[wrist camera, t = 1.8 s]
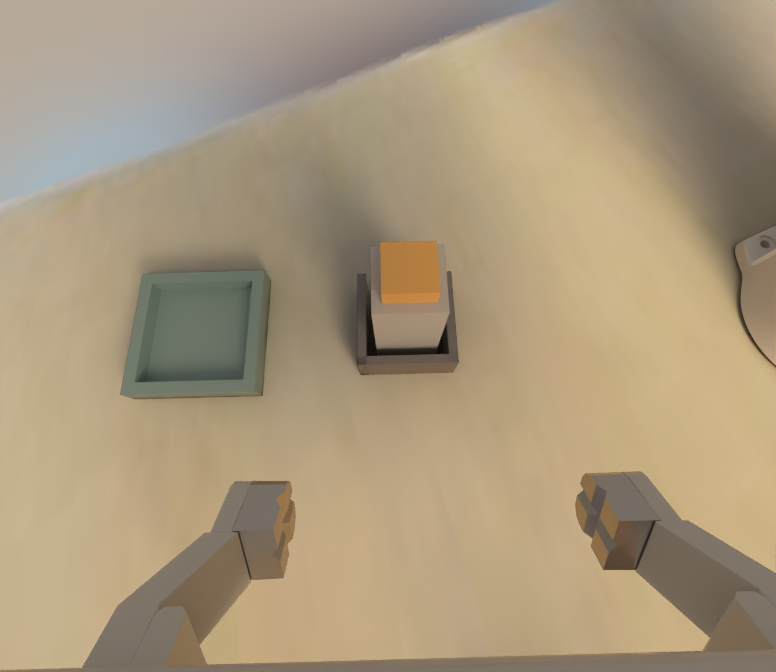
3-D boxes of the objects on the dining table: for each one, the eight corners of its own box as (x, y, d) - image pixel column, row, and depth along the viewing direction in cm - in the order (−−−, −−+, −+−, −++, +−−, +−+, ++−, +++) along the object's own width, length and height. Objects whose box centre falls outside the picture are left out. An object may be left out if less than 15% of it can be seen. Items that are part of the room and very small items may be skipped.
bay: (446, 288, 37) (451, 271, 34) (452, 372, 35) (458, 362, 32) (360, 291, 38) (357, 274, 34) (361, 374, 35) (357, 364, 32)
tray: (271, 280, 38) (264, 270, 36) (262, 395, 35) (254, 391, 33) (156, 283, 38) (142, 273, 36) (135, 399, 35) (120, 394, 33)
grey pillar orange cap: (430, 304, 37) (446, 231, 26) (434, 356, 35) (452, 302, 24) (377, 305, 37) (369, 233, 26) (377, 357, 35) (369, 305, 24)
